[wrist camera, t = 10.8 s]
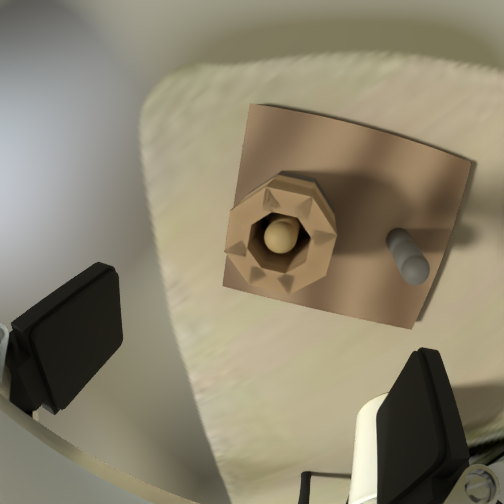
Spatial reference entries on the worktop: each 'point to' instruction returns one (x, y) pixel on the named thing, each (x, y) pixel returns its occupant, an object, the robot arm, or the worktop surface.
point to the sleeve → (308, 242)
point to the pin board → (357, 211)
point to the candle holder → (365, 455)
